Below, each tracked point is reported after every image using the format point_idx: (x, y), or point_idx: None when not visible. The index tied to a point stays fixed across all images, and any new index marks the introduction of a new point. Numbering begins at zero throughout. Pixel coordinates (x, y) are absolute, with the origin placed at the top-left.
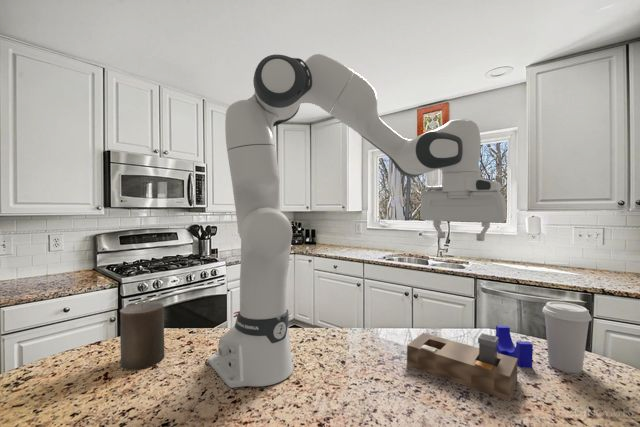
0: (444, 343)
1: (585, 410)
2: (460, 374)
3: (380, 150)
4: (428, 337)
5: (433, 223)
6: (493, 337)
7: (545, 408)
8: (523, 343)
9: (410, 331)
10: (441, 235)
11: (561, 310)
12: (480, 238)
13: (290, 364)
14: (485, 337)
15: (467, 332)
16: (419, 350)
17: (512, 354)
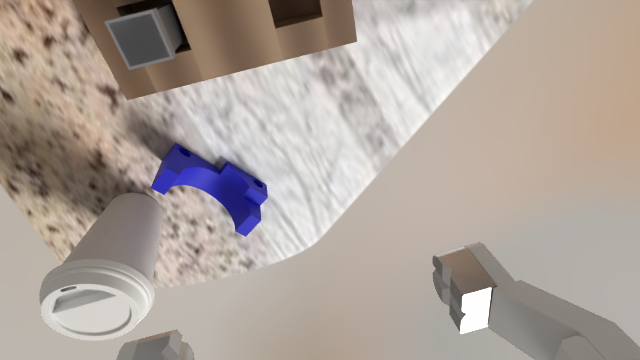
0: (280, 27)
1: (3, 78)
2: None
3: None
4: (329, 24)
5: (629, 339)
6: (133, 54)
7: (35, 15)
8: (164, 176)
9: (420, 104)
10: (458, 264)
11: (76, 282)
12: (134, 351)
13: None
14: (144, 33)
15: (329, 202)
16: None
17: (199, 164)
